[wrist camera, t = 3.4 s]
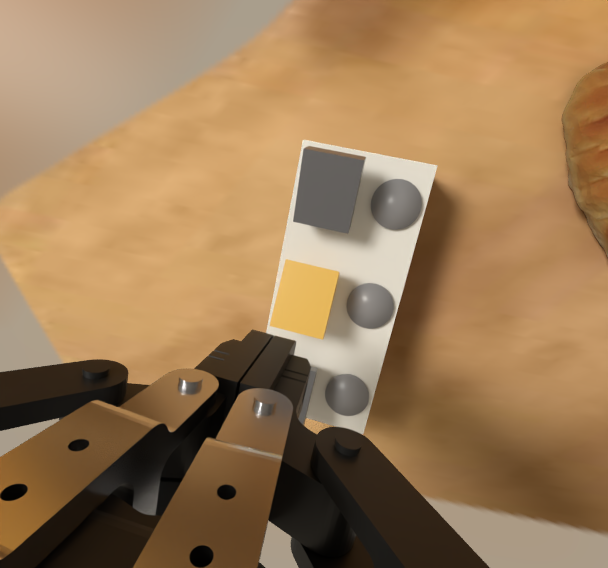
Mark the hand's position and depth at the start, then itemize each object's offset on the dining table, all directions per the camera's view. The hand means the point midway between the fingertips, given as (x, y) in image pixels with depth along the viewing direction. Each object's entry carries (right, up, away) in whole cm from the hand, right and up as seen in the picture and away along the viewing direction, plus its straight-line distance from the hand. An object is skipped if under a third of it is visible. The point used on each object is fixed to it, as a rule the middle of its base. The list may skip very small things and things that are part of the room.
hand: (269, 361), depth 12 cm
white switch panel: (+3, +3, +9) cm, 10 cm away
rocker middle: (+1, +2, +5) cm, 6 cm away
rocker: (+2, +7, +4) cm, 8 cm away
